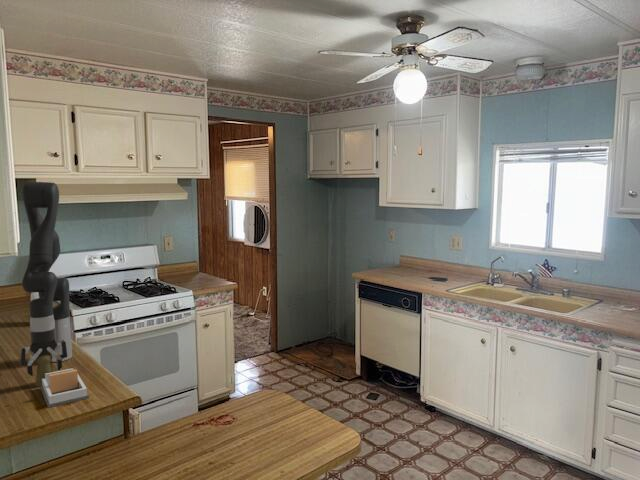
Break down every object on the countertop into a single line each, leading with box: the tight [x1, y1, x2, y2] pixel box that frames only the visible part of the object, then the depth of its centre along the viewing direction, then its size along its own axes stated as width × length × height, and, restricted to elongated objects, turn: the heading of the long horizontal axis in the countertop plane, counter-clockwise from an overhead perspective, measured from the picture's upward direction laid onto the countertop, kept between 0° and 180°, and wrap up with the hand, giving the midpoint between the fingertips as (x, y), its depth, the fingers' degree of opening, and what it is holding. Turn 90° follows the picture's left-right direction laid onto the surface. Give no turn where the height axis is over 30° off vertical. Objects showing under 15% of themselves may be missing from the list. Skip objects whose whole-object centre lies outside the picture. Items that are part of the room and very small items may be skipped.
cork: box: [35, 354, 54, 388], centre depth 171 cm, size 6×6×11 cm
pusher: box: [49, 369, 79, 393], centre depth 164 cm, size 4×8×6 cm, turn 126°
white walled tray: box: [40, 367, 90, 408], centre depth 164 cm, size 18×12×5 cm, turn 36°
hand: (45, 372), depth 171 cm, fingers open, 8 cm apart
